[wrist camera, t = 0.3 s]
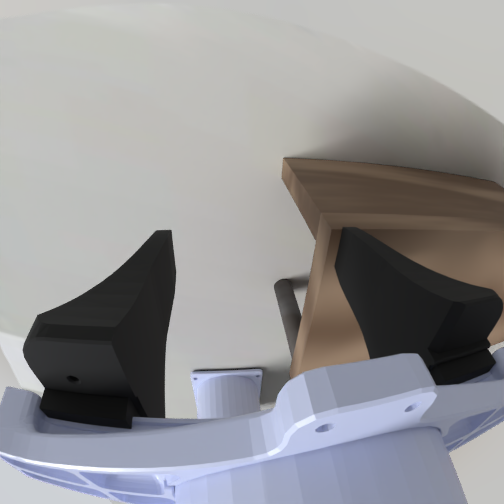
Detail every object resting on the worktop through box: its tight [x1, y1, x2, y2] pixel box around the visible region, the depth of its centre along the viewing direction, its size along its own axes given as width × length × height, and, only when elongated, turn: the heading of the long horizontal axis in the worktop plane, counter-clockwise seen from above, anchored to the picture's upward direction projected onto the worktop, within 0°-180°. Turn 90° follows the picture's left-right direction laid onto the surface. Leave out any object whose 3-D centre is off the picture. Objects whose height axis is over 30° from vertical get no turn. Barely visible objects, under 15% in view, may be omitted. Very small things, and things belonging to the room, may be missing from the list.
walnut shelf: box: [274, 158, 504, 379], centre depth 21 cm, size 12×22×10 cm, turn 88°
